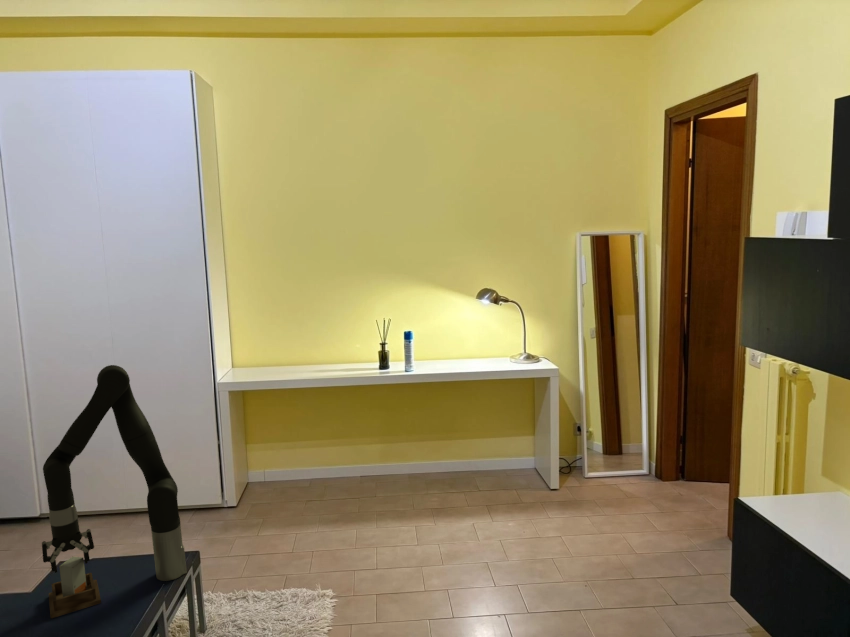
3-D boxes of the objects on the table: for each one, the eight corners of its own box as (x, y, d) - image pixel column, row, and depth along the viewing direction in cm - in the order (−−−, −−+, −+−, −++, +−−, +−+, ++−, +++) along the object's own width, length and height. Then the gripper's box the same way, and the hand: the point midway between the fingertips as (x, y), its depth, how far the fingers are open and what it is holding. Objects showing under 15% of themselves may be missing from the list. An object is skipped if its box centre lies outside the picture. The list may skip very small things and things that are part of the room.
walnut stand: (96, 582, 216) (95, 569, 215) (101, 603, 204) (99, 589, 203) (49, 596, 209) (47, 583, 208) (50, 618, 197) (48, 604, 196)
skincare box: (74, 602, 203) (70, 567, 201) (63, 601, 204) (58, 566, 202) (88, 591, 209) (83, 557, 207) (76, 590, 210) (72, 556, 208)
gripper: (88, 508, 209) (94, 554, 211) (37, 521, 201) (44, 569, 204) (90, 517, 202) (97, 564, 205) (38, 531, 195) (45, 580, 198)
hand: (71, 567), depth 205 cm, fingers open, 8 cm apart
